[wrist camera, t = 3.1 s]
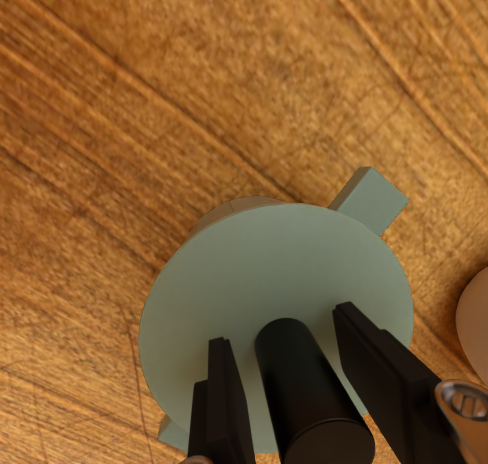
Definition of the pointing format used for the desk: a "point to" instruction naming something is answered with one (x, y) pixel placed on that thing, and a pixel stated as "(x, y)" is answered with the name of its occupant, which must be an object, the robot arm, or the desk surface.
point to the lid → (275, 324)
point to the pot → (347, 202)
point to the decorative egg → (475, 323)
